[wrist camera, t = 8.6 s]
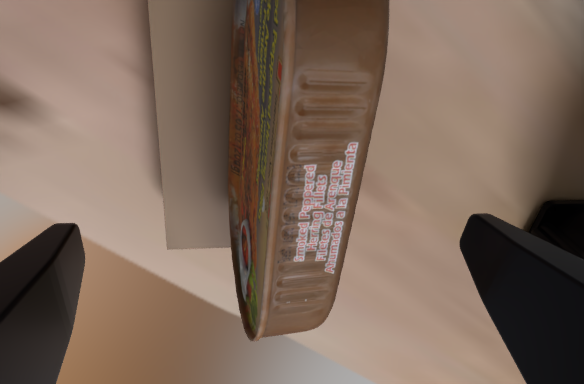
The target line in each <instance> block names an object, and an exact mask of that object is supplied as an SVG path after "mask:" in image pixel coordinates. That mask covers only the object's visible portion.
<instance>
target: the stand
mask: <svg viewBox="0 0 584 384" xmlns="http://www.w3.org/2000/svg"><path fill="white" fill-rule="evenodd" d="M232 6H233V0H148V11H149V24H150V37H151V49H152V62H153V75H154V88H155V101H156V113H157V126H158V139H159V152H160V165H161V177H162V190H163V203H164V216H165V229H166V241H167V250H168V249H198V248H227V247H231V239H230V227H229V204H228V198H229V196H228V160H229V121H230V82H231V41H232V37H231V36H232Z"/></svg>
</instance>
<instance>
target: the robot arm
mask: <svg viewBox="0 0 584 384" xmlns="http://www.w3.org/2000/svg"><path fill="white" fill-rule="evenodd" d="M460 249H461V252H462V254H463V257H464V259H465V261H466V264H467V266H468V269H469V271H470V273H471V276H472V278H473V281H474V283H475V285H476V288H477V290H478V293H479V295H480V297H481V299H482V302H483V304H484V305H485V307H486V309H487V311H488V313H489V315H490V317H491V319H492V321H493V322H494V324H495V326H496V328H497V330H498V332H499V334H500V335H501V337H502V339H503V341H504V343H505V345H506V347H507V348H508V350H509V352H510V354H511V356H512V358H513V359H514V361H515V363H516V365H517V367H518V369H519V371H520V372H521V374H522V376H523V378H524V380H525V382H526V384H584V200H557V201H548V202H546V203H545V204H544V205H543V207H542V209H541V210H540V212H539V214H538V216H537V218H536V220H535V222H534V224H533V226H532V228H531V230H530V232H529V233H528V232H526V231H524V230H522V229H519V228H517V227H515V226H513V225H511V224H509V223H507V222H505V221H503V220H501V219H499V218H497V217H495V216H493V215H491V214H487V213H483V214H473V215H471V216H470V217H469V219H468V221H467V224H466V226H465V229H464V231H463V233H462V236H461V238H460ZM84 266H85V253H84V248H83V243H82V239H81V234H80V230H79V227H78V225H77V224H75V223H57V224H54V225H52V226H51V227H49V228H48V229H46V230H45V231H43V232H42V233H41V234H39V235H38V236H36V237H35V238H34V239H32V240H31V241H29V242H28V243H27V244H25V245H24V246H22V247H21V248H20V249H18V250H17V251H15V252H14V253H13V254H11V255H10V256H9V257H7V258H6V259H4V260H3V261H2V262H0V384H56V381H57V378H58V375H59V372H60V369H61V366H62V363H63V359H64V356H65V353H66V350H67V347H68V344H69V340H70V337H71V334H72V330H73V325H74V320H75V315H76V310H77V304H78V299H79V293H80V288H81V282H82V277H83V271H84Z"/></svg>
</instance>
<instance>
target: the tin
mask: <svg viewBox="0 0 584 384" xmlns="http://www.w3.org/2000/svg"><path fill="white" fill-rule="evenodd" d="M388 30H389V0H233V6H232V36H231V37H232V41H231V82H230V121H229V160H228V196H229V198H228V204H229V227H230V239H231V251H232V261H233V269H234V275H235V284H236V292H237V298H238V303H239V310H240V314H241V318H242V322H243V326H244V329H245V332H246V334H247V337H248V338H249V339H250V341H254V342H255V341H258V340H259V339H260V338H262V337H268V336H276V335H284V334H290V333H297V332H303V331H308V330H312V329H315V328H317V327H319V326H320V325H321V324H322V323H323V322H324V321H325V320H326V318H327V317H328V315H329V313H330V311H331V309H332V306H333V304H334V301H335V297H336V292H337V288H338V285H339V280H340V275H341V271H342V267H343V263H344V258H345V253H346V249H347V244H348V239H349V235H350V231H351V227H352V222H353V218H354V214H355V208H356V204H357V200H358V195H359V190H360V186H361V181H362V176H363V171H364V167H365V162H366V158H367V152H368V147H369V143H370V139H371V133H372V129H373V125H374V120H375V115H376V110H377V106H378V101H379V97H380V92H381V87H382V81H383V76H384V69H385V62H386V54H387V45H388Z"/></svg>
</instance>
